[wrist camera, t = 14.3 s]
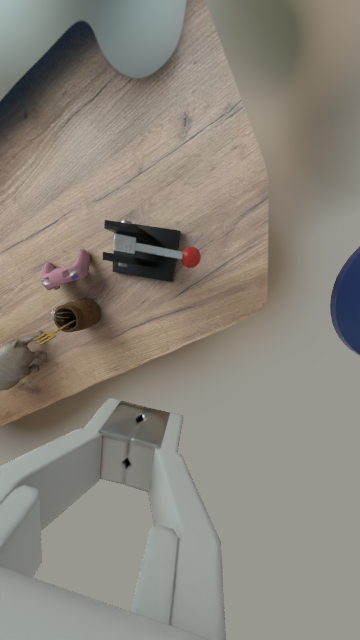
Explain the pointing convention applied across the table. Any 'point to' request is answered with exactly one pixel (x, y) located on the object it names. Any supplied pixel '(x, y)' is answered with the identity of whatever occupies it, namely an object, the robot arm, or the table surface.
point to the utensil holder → (73, 317)
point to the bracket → (142, 261)
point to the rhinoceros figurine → (17, 361)
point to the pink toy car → (65, 272)
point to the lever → (156, 250)
